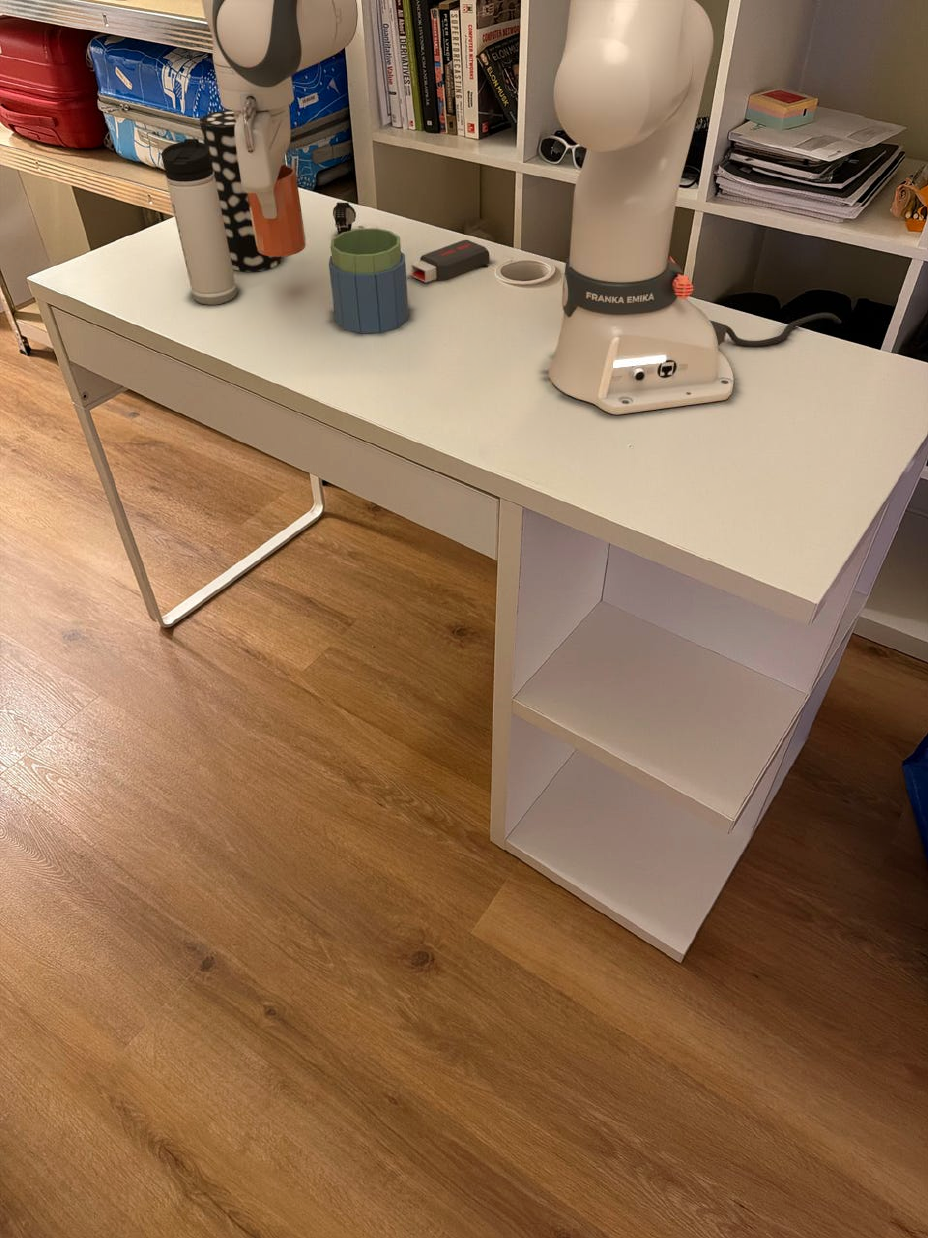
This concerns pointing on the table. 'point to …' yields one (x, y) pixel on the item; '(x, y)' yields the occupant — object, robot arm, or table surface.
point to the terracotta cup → (280, 218)
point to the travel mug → (199, 221)
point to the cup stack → (368, 280)
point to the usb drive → (450, 261)
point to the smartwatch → (344, 217)
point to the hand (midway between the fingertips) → (274, 205)
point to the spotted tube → (233, 193)
